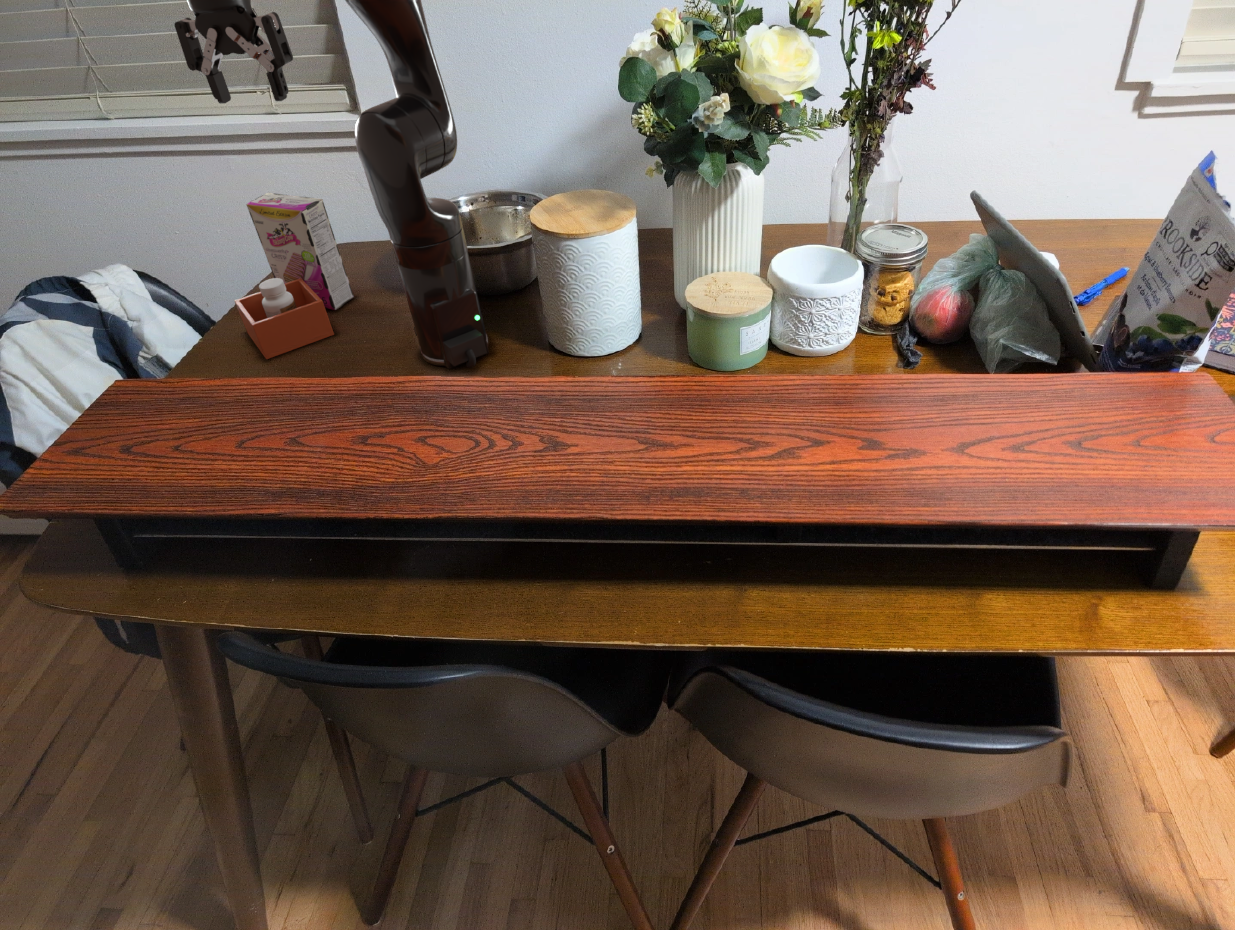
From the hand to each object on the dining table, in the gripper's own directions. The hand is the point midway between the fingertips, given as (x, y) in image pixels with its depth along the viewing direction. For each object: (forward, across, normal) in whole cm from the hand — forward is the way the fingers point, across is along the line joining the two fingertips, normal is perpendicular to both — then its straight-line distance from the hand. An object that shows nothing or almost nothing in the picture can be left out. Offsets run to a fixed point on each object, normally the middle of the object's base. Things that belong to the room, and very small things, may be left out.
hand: (253, 100), depth 116 cm
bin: (+30, 0, -10) cm, 32 cm away
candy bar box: (+31, -1, 0) cm, 31 cm away
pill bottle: (+30, 0, -10) cm, 32 cm away
